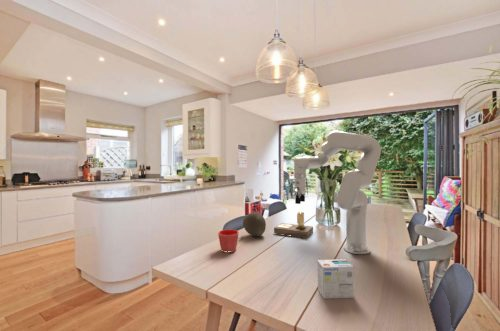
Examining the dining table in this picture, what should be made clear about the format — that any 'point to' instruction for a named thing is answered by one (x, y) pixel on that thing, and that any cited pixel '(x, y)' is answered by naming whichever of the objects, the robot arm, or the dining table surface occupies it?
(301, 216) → the brass peg
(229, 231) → the flower pot
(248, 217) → the cantaloupe
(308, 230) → the brown flat wooden block
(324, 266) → the light bulb box
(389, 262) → the dining table surface
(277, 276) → the dining table surface
